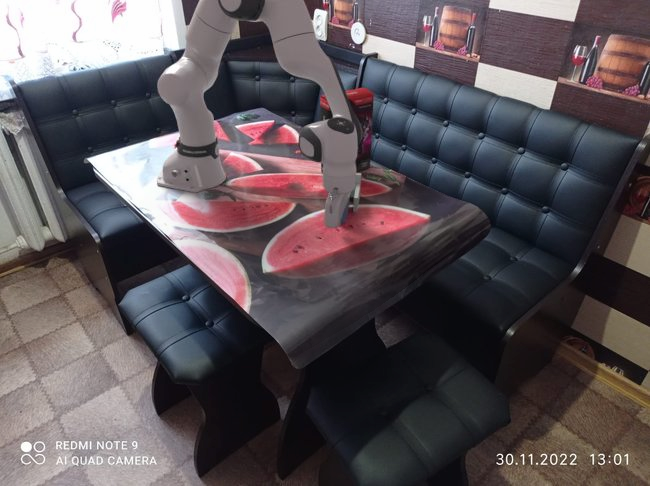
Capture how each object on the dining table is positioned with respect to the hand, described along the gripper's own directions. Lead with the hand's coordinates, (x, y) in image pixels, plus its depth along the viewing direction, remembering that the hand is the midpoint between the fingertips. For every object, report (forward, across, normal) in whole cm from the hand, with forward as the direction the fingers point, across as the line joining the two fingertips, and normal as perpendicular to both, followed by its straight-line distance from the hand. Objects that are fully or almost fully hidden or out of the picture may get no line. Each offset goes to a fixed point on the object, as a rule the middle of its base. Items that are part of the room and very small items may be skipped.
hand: (337, 223), depth 136 cm
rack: (+3, +16, +2) cm, 17 cm away
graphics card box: (+3, +38, +5) cm, 38 cm away
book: (+3, +10, +1) cm, 10 cm away
